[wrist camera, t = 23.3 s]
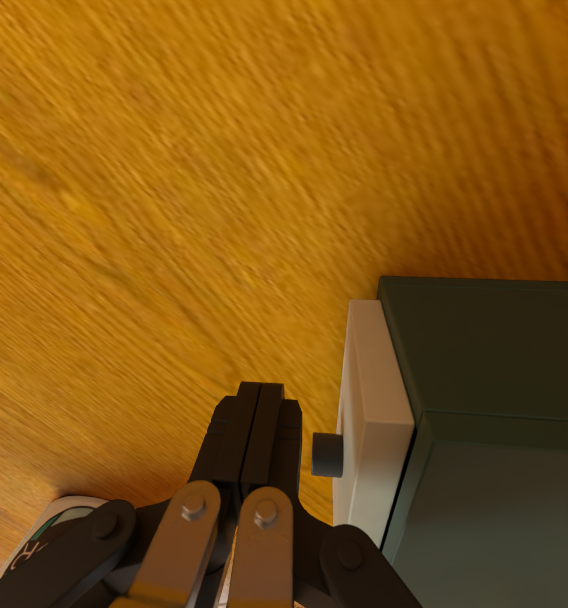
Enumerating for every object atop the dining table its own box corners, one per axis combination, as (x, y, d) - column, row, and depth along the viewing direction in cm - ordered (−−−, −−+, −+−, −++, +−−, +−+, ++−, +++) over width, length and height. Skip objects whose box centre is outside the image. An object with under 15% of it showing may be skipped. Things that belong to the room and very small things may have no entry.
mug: (78, 551, 31) (8, 677, 24) (19, 489, 26) (-92, 627, 19) (211, 561, 29) (175, 702, 22) (176, 495, 24) (115, 654, 17)
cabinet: (351, 464, 19) (364, 641, 13) (379, 275, 13) (433, 441, 7) (598, 486, 18) (751, 697, 12) (769, 287, 12) (1330, 514, 5)
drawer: (311, 468, 19) (306, 598, 14) (318, 297, 13) (314, 416, 8) (569, 492, 17) (666, 646, 12) (710, 311, 11) (1007, 468, 6)
